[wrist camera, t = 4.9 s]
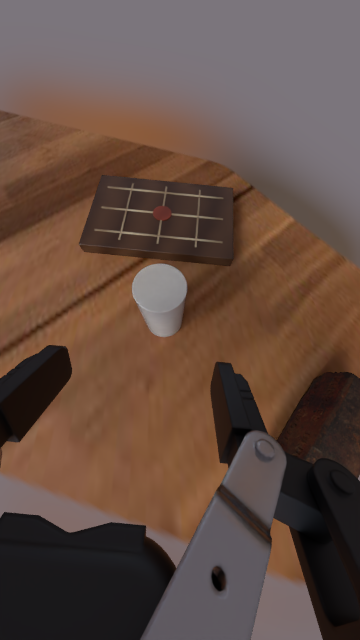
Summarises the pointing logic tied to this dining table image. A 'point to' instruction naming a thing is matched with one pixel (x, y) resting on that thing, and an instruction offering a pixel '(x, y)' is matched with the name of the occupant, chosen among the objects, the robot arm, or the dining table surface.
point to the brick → (327, 422)
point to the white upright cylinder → (161, 298)
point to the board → (161, 221)
